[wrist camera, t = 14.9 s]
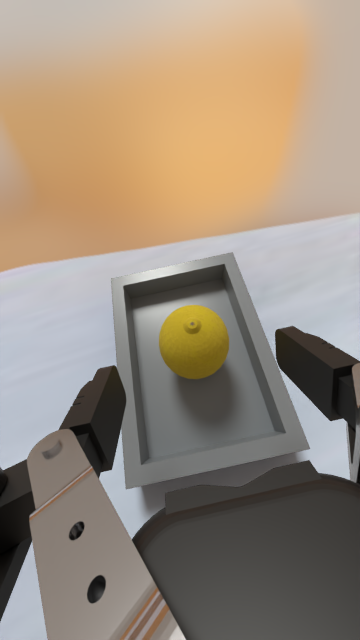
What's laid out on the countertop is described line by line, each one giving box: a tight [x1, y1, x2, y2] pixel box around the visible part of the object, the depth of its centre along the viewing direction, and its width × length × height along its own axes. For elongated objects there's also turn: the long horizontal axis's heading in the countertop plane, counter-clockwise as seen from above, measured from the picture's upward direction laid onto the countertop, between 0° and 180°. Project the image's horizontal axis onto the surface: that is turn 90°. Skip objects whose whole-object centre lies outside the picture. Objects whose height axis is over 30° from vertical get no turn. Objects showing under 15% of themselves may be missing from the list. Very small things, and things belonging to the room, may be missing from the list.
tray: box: [111, 252, 310, 489], centre depth 20 cm, size 13×18×3 cm
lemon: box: [159, 305, 229, 379], centre depth 17 cm, size 6×6×8 cm
